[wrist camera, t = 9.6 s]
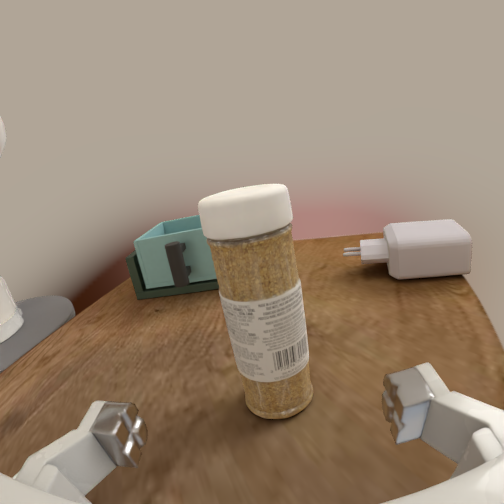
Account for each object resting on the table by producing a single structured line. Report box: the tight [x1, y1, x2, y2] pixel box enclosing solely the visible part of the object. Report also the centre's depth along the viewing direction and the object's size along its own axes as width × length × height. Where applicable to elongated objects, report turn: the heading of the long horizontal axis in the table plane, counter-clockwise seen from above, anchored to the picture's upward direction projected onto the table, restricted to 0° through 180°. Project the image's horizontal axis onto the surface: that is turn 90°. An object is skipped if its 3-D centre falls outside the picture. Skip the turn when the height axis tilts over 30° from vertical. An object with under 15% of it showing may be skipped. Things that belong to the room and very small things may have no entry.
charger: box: [343, 219, 472, 280], centre depth 35 cm, size 5×9×15 cm
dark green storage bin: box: [126, 250, 219, 300], centre depth 46 cm, size 16×14×6 cm
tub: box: [134, 215, 217, 289], centre depth 43 cm, size 13×16×7 cm
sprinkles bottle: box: [198, 184, 313, 419], centre depth 17 cm, size 5×5×14 cm
